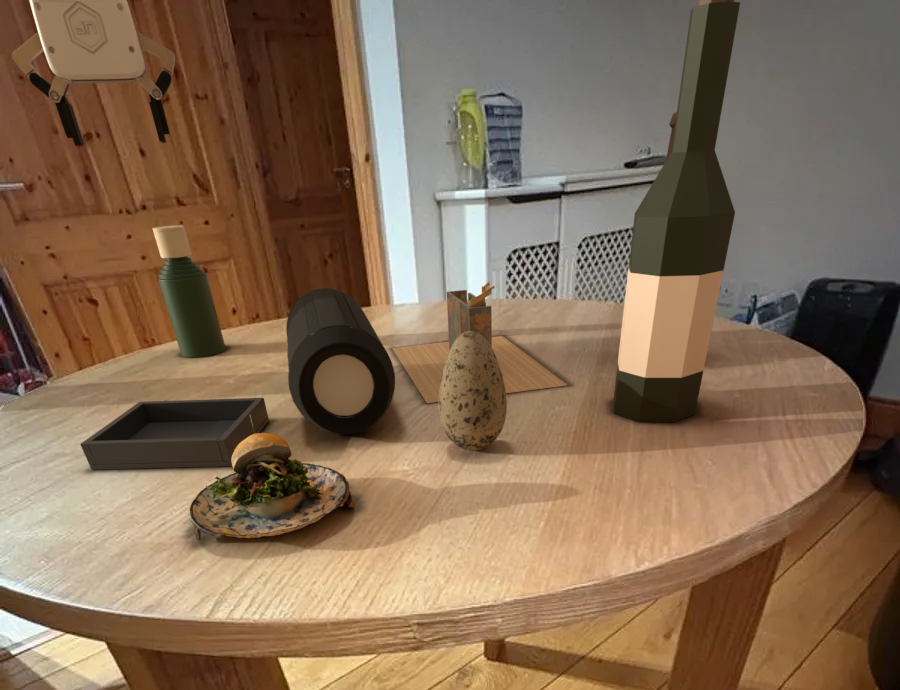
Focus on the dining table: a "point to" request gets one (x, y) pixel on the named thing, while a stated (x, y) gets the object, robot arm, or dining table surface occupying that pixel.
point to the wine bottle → (680, 240)
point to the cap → (172, 241)
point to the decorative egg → (472, 393)
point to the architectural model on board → (477, 317)
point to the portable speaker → (337, 363)
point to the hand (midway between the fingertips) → (122, 144)
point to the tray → (176, 434)
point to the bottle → (191, 308)
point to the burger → (267, 492)
